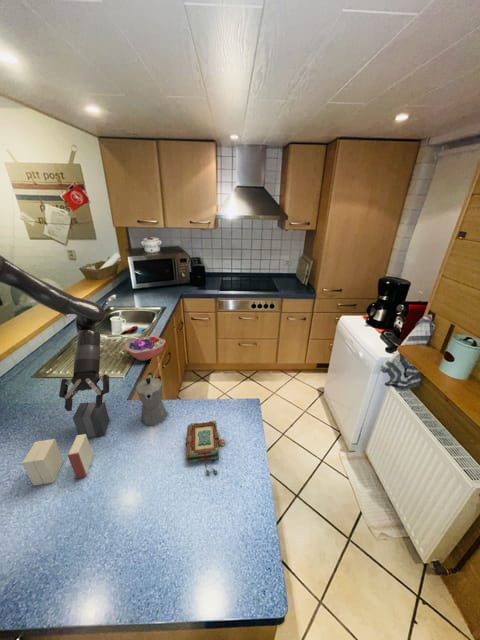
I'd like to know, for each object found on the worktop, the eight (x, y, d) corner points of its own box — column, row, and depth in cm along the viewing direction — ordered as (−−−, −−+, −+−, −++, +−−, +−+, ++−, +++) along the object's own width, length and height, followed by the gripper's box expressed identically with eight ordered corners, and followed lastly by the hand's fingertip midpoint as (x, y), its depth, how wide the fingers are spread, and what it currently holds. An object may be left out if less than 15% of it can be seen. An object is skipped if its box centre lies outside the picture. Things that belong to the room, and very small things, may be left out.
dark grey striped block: (79, 439, 88) (72, 417, 84) (86, 423, 94) (80, 403, 90) (104, 435, 89) (98, 414, 85) (109, 420, 96) (104, 400, 91)
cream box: (33, 485, 73) (21, 462, 69) (45, 463, 79) (35, 441, 75) (53, 482, 74) (43, 459, 70) (63, 460, 80) (54, 438, 76)
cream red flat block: (76, 478, 75) (67, 455, 71) (84, 457, 82) (76, 435, 77) (86, 476, 76) (77, 454, 72) (93, 455, 82) (86, 433, 78)
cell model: (166, 363, 131) (164, 344, 126) (125, 368, 126) (121, 348, 121) (167, 347, 146) (165, 329, 141) (130, 350, 141) (126, 333, 136)
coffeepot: (167, 426, 93) (161, 388, 86) (140, 432, 91) (132, 393, 83) (166, 398, 107) (161, 363, 99) (143, 402, 104) (136, 367, 97)
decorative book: (185, 478, 76) (183, 467, 74) (187, 431, 92) (186, 421, 89) (228, 472, 78) (228, 461, 76) (223, 427, 94) (223, 417, 91)
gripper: (58, 359, 81) (52, 412, 76) (106, 355, 84) (103, 406, 79) (69, 364, 88) (64, 412, 83) (113, 360, 91) (111, 406, 86)
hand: (83, 409), depth 81 cm, fingers open, 8 cm apart
